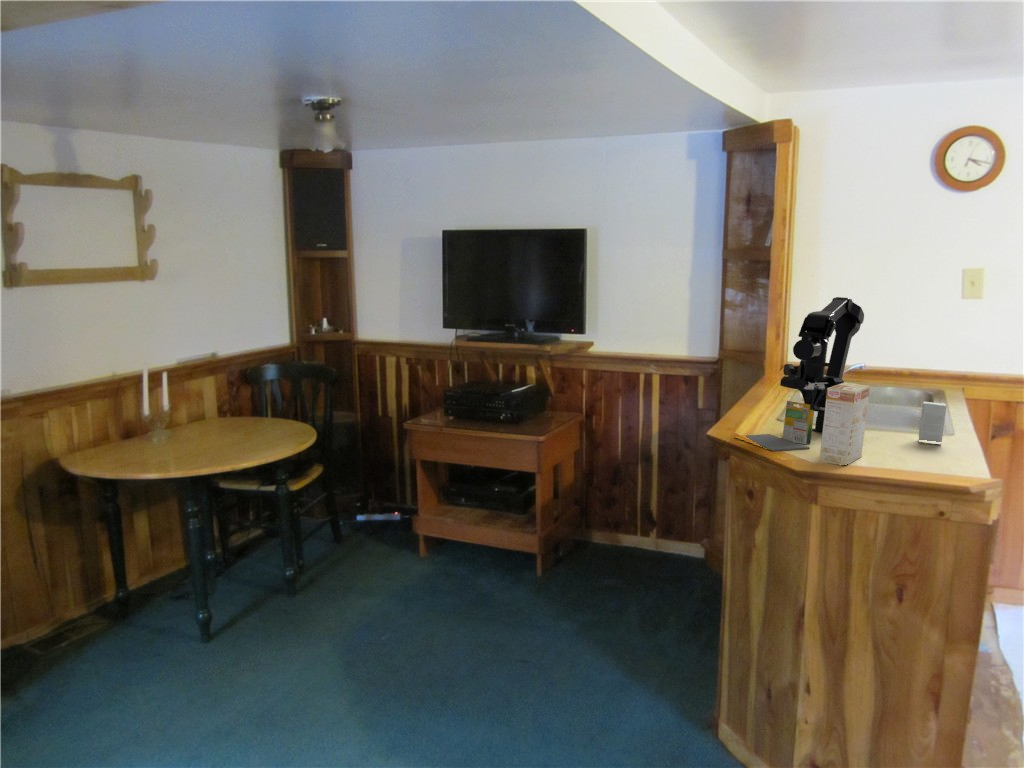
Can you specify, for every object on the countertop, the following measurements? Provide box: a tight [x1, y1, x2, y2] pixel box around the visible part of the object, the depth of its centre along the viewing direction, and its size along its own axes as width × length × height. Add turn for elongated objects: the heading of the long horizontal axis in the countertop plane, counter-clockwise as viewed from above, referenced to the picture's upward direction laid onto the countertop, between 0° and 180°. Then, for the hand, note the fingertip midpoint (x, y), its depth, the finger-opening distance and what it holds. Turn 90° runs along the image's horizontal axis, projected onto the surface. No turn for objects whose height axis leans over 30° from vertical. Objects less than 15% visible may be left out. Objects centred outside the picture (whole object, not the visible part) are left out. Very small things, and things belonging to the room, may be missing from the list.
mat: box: [744, 433, 810, 452], centre depth 218 cm, size 13×16×1 cm
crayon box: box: [782, 400, 815, 446], centre depth 220 cm, size 7×3×12 cm, turn 42°
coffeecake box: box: [818, 381, 871, 466], centre depth 202 cm, size 15×7×20 cm, turn 141°
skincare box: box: [918, 401, 947, 443], centre depth 228 cm, size 6×4×12 cm
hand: (808, 411), depth 221 cm, fingers closed
